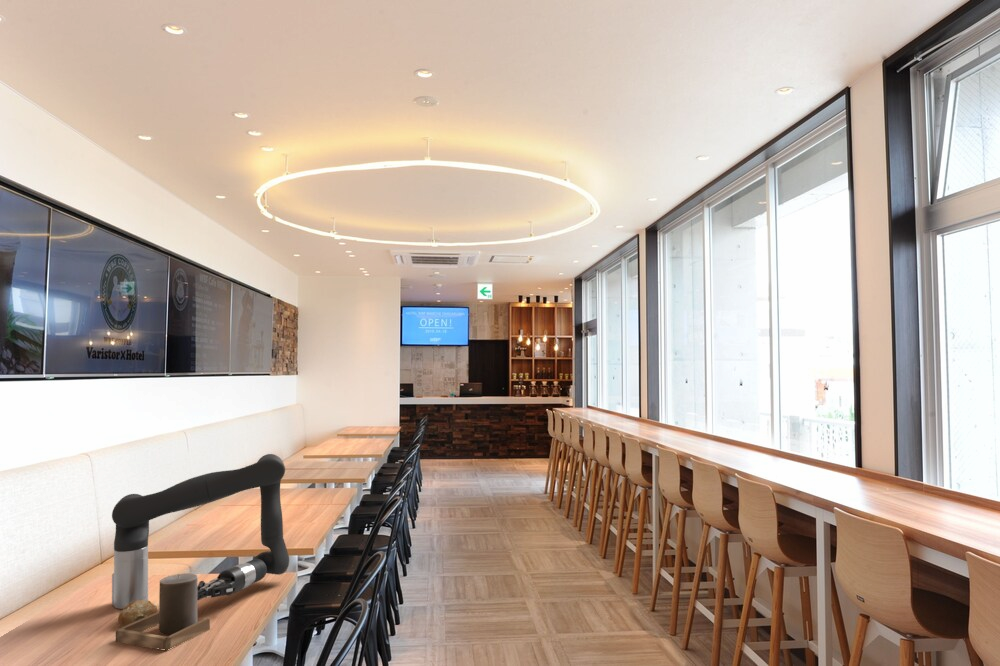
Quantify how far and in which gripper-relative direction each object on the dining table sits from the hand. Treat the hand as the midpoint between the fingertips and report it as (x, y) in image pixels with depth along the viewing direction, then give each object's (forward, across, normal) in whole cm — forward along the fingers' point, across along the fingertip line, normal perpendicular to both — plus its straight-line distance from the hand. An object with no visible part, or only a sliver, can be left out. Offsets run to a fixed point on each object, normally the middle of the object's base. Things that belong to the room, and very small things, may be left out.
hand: (192, 597), depth 187 cm
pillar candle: (+5, 0, +7) cm, 8 cm away
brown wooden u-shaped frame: (+9, 0, +7) cm, 12 cm away
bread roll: (+5, -16, +7) cm, 18 cm away
